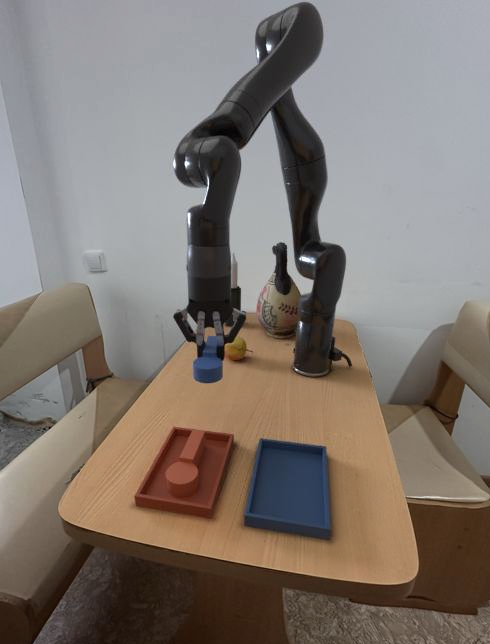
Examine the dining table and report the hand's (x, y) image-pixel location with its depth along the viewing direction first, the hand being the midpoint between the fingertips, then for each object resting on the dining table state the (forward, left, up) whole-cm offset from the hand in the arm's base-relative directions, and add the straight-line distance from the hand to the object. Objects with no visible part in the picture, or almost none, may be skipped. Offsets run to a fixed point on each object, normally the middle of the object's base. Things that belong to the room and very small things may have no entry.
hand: (211, 361), depth 71 cm
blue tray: (-6, +20, -15) cm, 26 cm away
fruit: (-18, -28, -15) cm, 36 cm away
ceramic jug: (-39, -39, -15) cm, 57 cm away
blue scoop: (0, 0, -1) cm, 1 cm away
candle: (-29, -54, -15) cm, 63 cm away
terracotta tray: (+8, +10, -15) cm, 20 cm away
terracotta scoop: (+8, +10, -15) cm, 19 cm away
